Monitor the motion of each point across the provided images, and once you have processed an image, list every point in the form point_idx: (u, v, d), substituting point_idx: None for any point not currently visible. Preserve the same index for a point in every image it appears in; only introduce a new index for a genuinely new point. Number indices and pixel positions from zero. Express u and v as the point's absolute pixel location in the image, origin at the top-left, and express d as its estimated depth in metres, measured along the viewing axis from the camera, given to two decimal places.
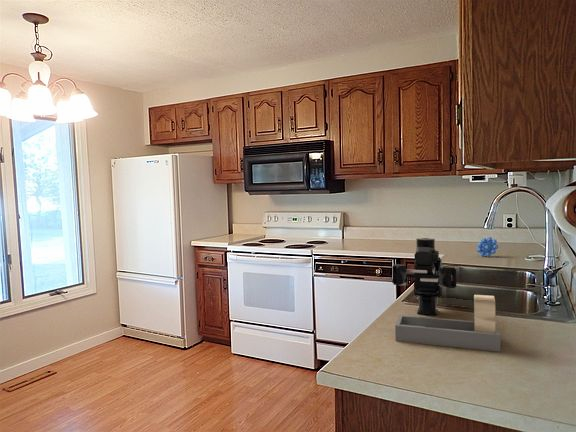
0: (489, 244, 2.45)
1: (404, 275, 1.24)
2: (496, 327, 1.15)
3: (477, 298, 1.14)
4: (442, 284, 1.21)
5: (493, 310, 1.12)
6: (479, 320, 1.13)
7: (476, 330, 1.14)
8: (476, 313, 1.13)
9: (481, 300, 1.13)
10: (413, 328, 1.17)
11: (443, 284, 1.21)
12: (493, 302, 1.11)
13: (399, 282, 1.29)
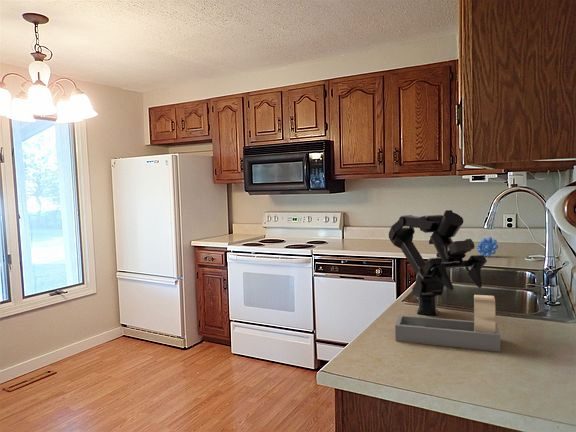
0: (489, 244, 2.45)
1: (448, 279, 1.22)
2: (496, 327, 1.15)
3: (477, 298, 1.14)
4: None
5: (493, 310, 1.12)
6: (479, 320, 1.13)
7: (476, 330, 1.14)
8: (476, 313, 1.13)
9: (481, 300, 1.13)
10: (413, 328, 1.17)
11: None
12: (493, 302, 1.11)
13: (433, 275, 1.26)
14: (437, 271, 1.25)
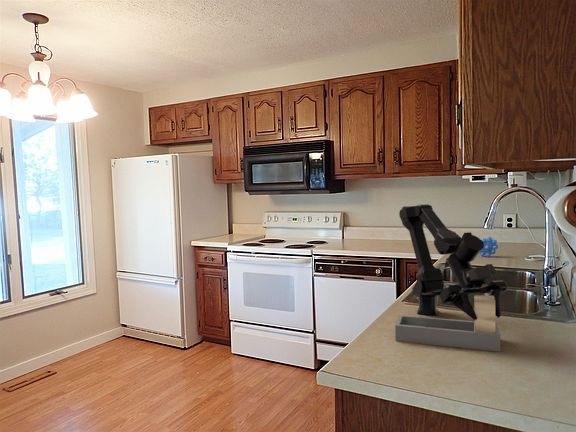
0: (489, 244, 2.45)
1: (471, 308, 1.14)
2: (496, 327, 1.15)
3: (477, 298, 1.14)
4: None
5: (493, 310, 1.12)
6: (479, 320, 1.13)
7: (476, 330, 1.14)
8: (476, 313, 1.13)
9: (481, 300, 1.13)
10: (413, 328, 1.17)
11: None
12: (493, 302, 1.11)
13: (454, 303, 1.18)
14: (459, 298, 1.16)
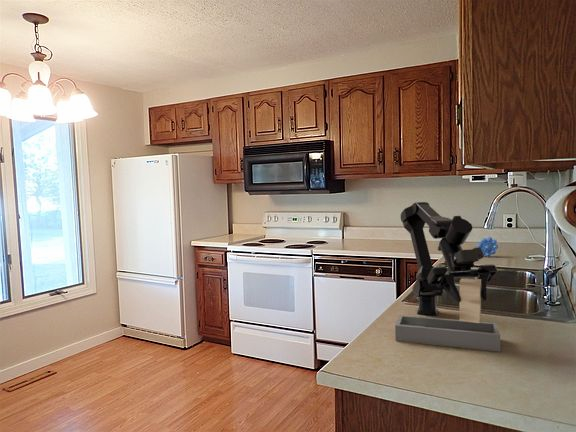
0: (489, 244, 2.45)
1: (456, 291, 1.14)
2: (496, 327, 1.15)
3: (462, 281, 1.14)
4: None
5: (477, 293, 1.12)
6: (464, 302, 1.13)
7: (460, 312, 1.14)
8: (461, 295, 1.14)
9: (466, 282, 1.13)
10: (413, 328, 1.17)
11: None
12: (477, 285, 1.11)
13: (441, 285, 1.19)
14: (445, 281, 1.17)
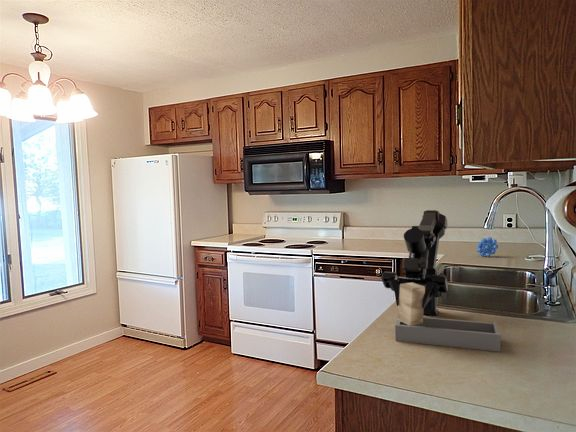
0: (489, 244, 2.45)
1: (396, 295, 1.24)
2: (496, 327, 1.15)
3: (404, 284, 1.22)
4: (428, 301, 1.21)
5: (410, 297, 1.19)
6: (401, 304, 1.22)
7: (399, 312, 1.23)
8: (400, 297, 1.22)
9: (404, 286, 1.21)
10: (413, 328, 1.17)
11: (429, 299, 1.21)
12: (411, 290, 1.18)
13: (394, 289, 1.29)
14: None
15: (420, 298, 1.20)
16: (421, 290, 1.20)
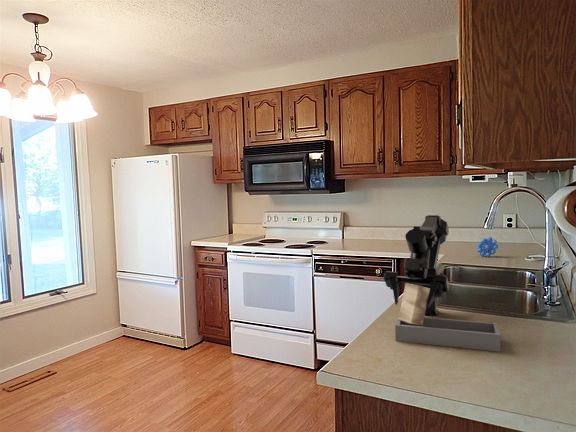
0: (489, 244, 2.45)
1: (395, 294, 1.26)
2: (496, 327, 1.15)
3: None
4: (432, 301, 1.23)
5: (415, 295, 1.20)
6: (404, 302, 1.23)
7: (400, 311, 1.23)
8: (404, 295, 1.24)
9: (409, 284, 1.23)
10: (413, 328, 1.17)
11: (433, 299, 1.23)
12: (417, 287, 1.20)
13: None
14: None
15: (424, 298, 1.22)
16: (426, 291, 1.22)
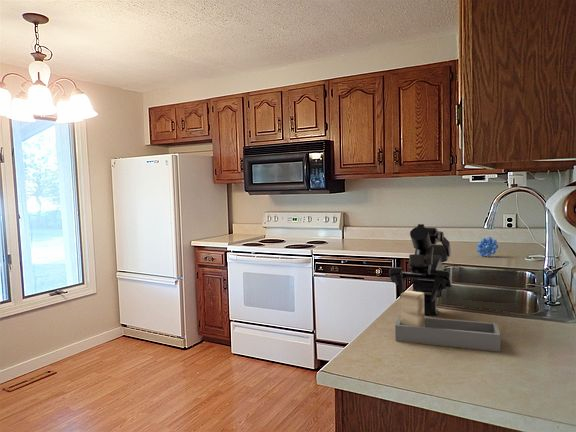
0: (489, 244, 2.45)
1: (400, 289, 1.32)
2: (496, 327, 1.15)
3: (404, 293, 1.21)
4: (436, 296, 1.28)
5: (415, 305, 1.18)
6: (404, 314, 1.21)
7: (402, 323, 1.21)
8: (401, 307, 1.21)
9: (405, 295, 1.20)
10: (413, 328, 1.17)
11: (437, 294, 1.28)
12: (415, 298, 1.18)
13: (397, 283, 1.37)
14: None
15: (422, 305, 1.20)
16: (422, 297, 1.20)
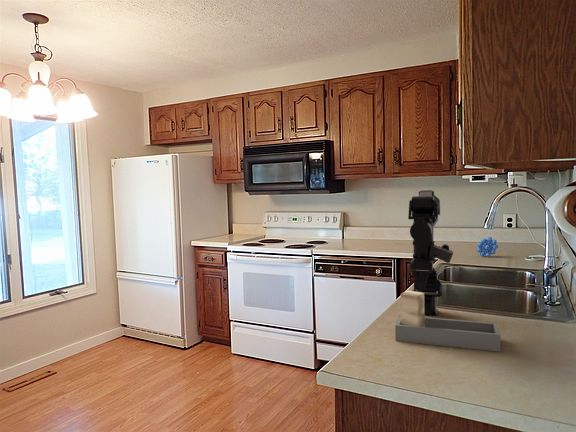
0: (489, 244, 2.45)
1: (425, 283, 1.22)
2: (496, 327, 1.15)
3: (404, 293, 1.21)
4: None
5: (415, 305, 1.18)
6: (404, 314, 1.21)
7: (402, 323, 1.21)
8: (402, 307, 1.21)
9: (406, 295, 1.20)
10: (413, 328, 1.17)
11: None
12: (415, 298, 1.18)
13: (414, 271, 1.21)
14: None
15: (422, 305, 1.20)
16: (422, 297, 1.20)
